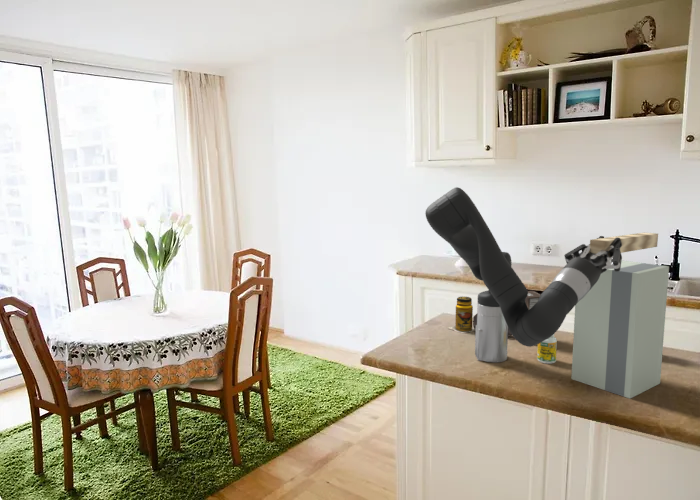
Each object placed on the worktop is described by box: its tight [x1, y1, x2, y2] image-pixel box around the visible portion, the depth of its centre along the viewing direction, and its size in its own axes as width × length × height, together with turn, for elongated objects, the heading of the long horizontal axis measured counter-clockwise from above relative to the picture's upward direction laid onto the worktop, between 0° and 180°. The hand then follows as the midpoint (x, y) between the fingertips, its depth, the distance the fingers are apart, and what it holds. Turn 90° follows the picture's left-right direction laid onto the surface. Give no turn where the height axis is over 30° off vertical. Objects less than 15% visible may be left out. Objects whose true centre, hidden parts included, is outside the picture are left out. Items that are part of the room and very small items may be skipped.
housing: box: [571, 260, 670, 399], centre depth 140 cm, size 16×16×32 cm
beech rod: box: [589, 232, 659, 256], centre depth 131 cm, size 26×4×4 cm, turn 125°
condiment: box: [447, 296, 476, 334], centre depth 191 cm, size 7×8×12 cm
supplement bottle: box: [536, 332, 558, 365], centre depth 158 cm, size 5×5×10 cm
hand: (610, 239), depth 127 cm, fingers closed on beech rod, 3 cm apart
